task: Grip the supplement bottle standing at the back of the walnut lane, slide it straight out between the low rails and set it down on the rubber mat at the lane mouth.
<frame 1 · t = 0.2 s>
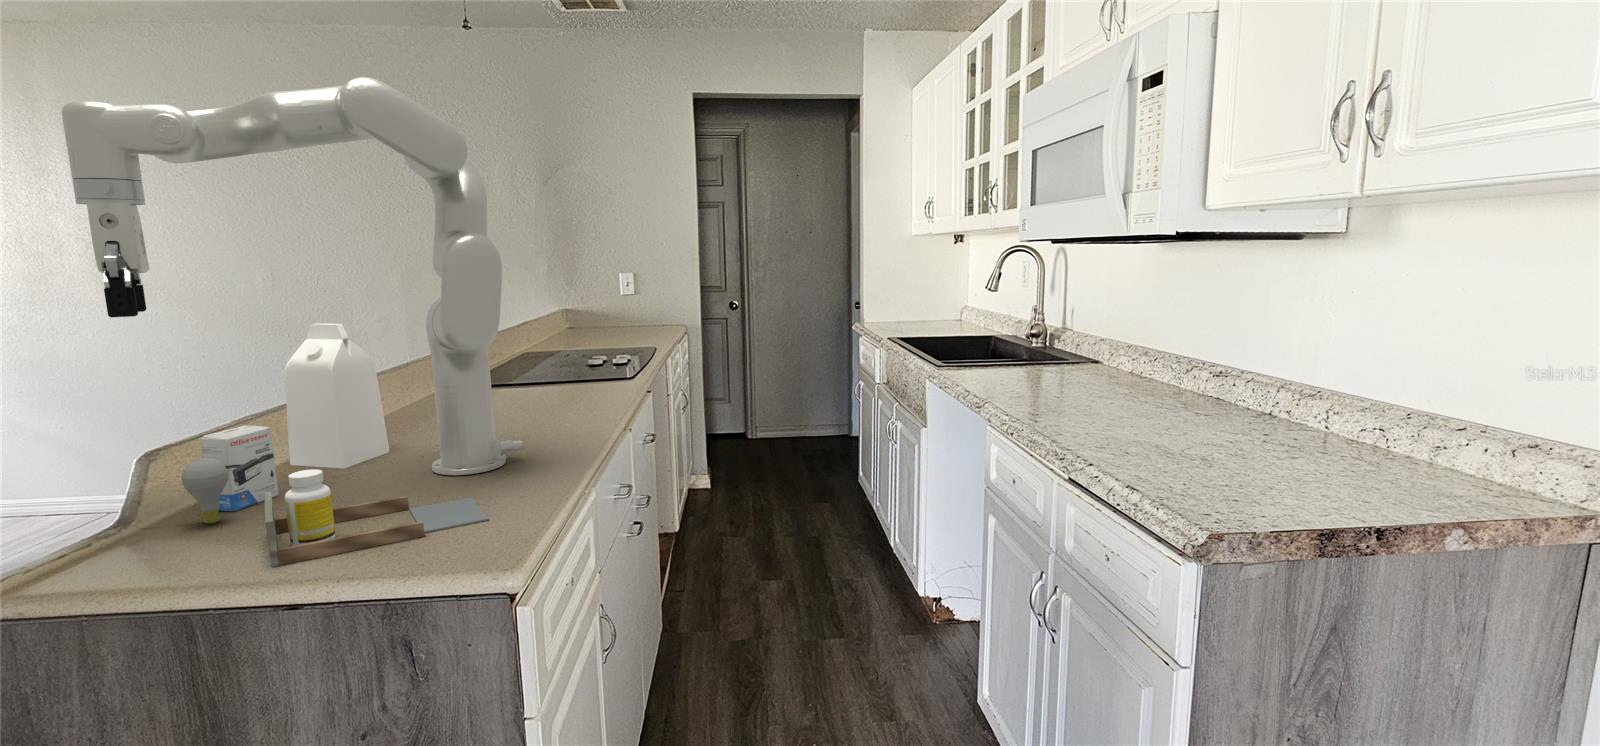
hand: (128, 314, 114), 31 cm above the counter, fingers open, 9 cm apart
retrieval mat: (448, 515, 119), on the counter
light bulb: (212, 525, 116), on the counter
supplement bottle: (313, 542, 109), resting in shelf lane
milk: (341, 459, 151), on the counter
ink box: (245, 503, 126), on the counter
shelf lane: (346, 534, 111), on the counter
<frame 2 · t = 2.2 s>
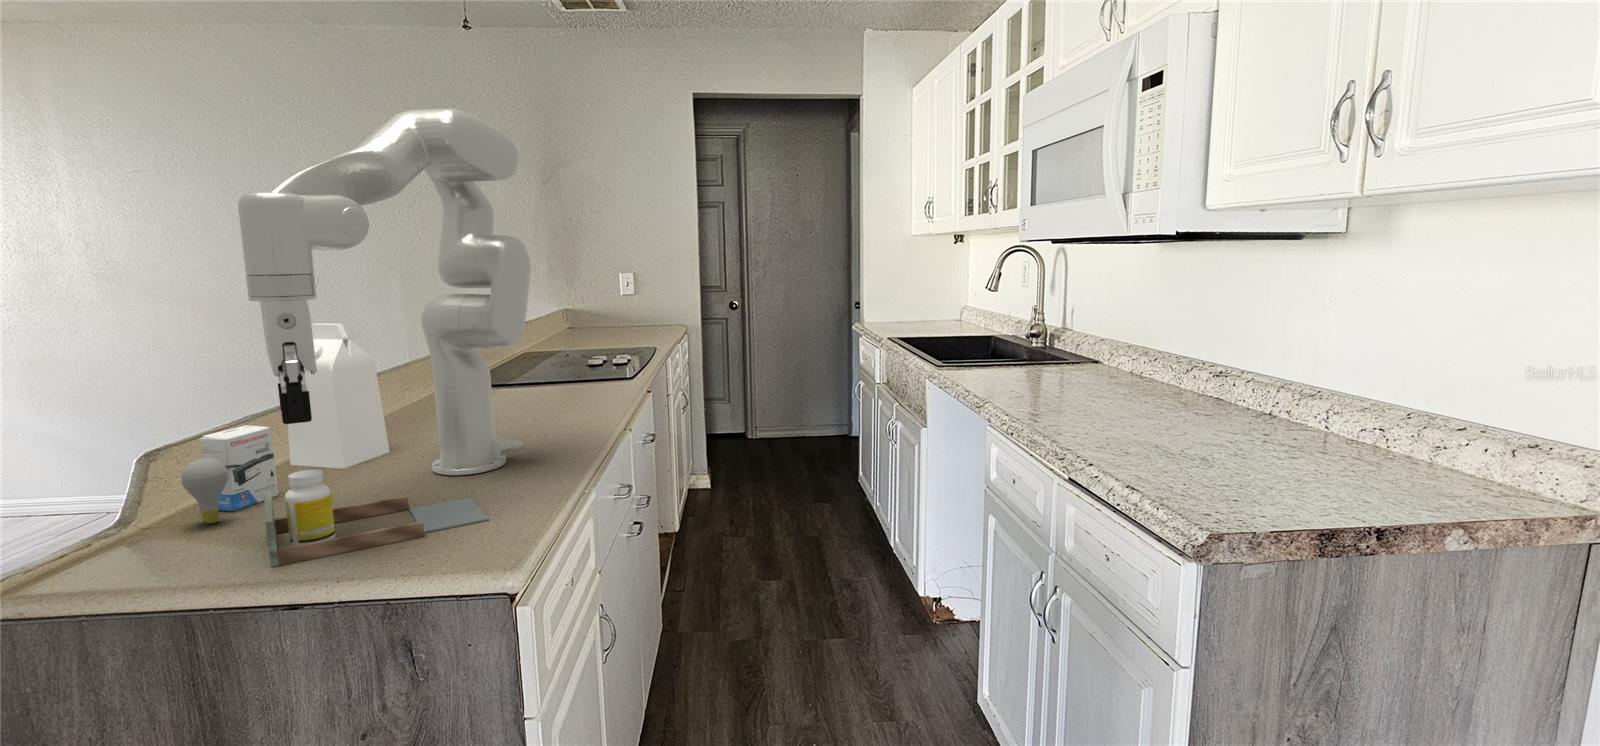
hand: (295, 416, 106), 18 cm above the counter, fingers open, 9 cm apart
nothing on the counter moved.
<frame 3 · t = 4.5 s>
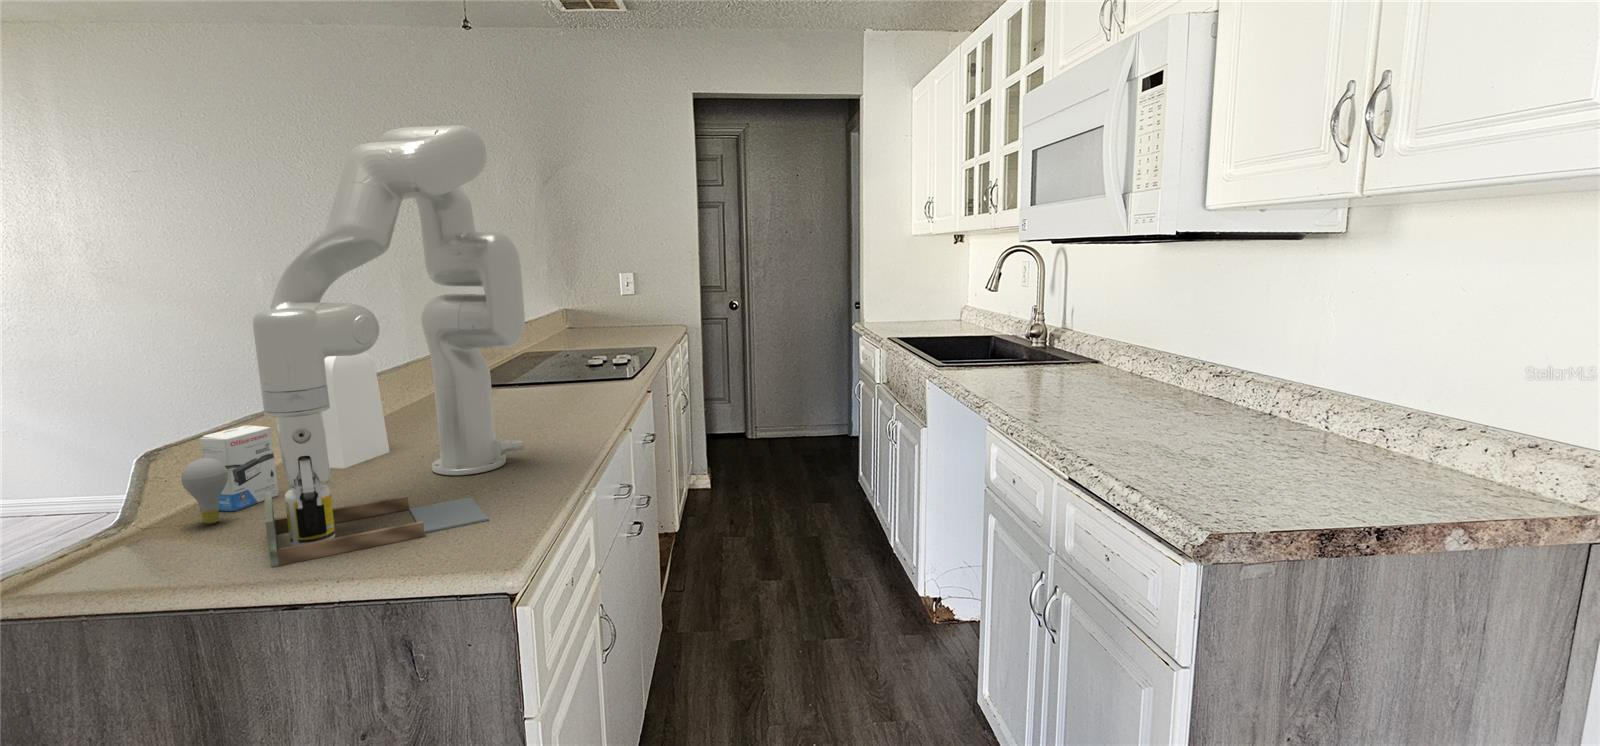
hand: (311, 527, 109), 2 cm above the counter, fingers closed on supplement bottle, 5 cm apart
supplement bottle: (313, 542, 109), resting in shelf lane, touching gripper
everything else where it was.
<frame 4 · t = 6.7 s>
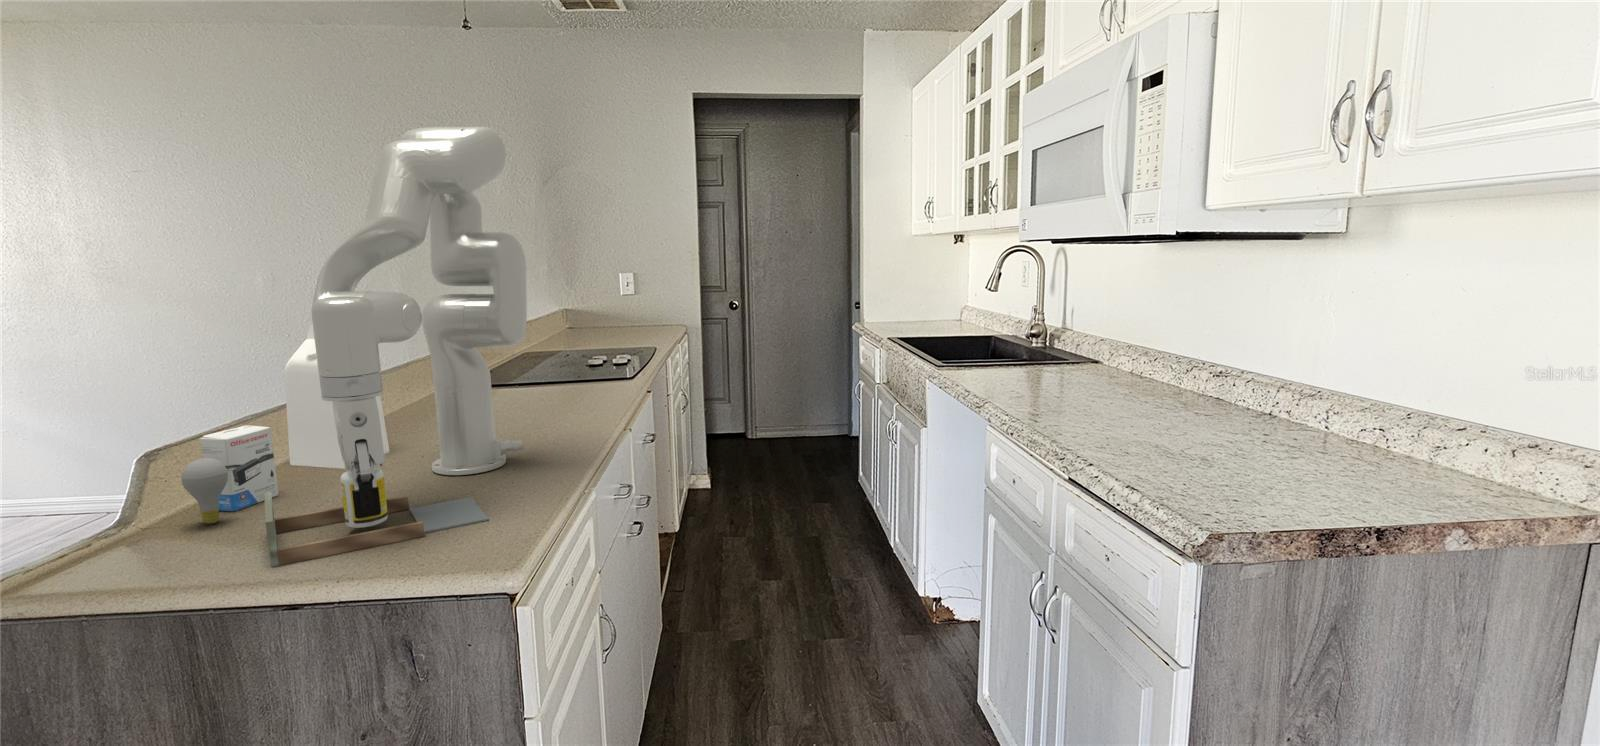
hand: (365, 508, 113), 3 cm above the counter, fingers closed on supplement bottle, 5 cm apart
supplement bottle: (367, 523, 113), point 1 cm above the counter, touching gripper
everything else where it was.
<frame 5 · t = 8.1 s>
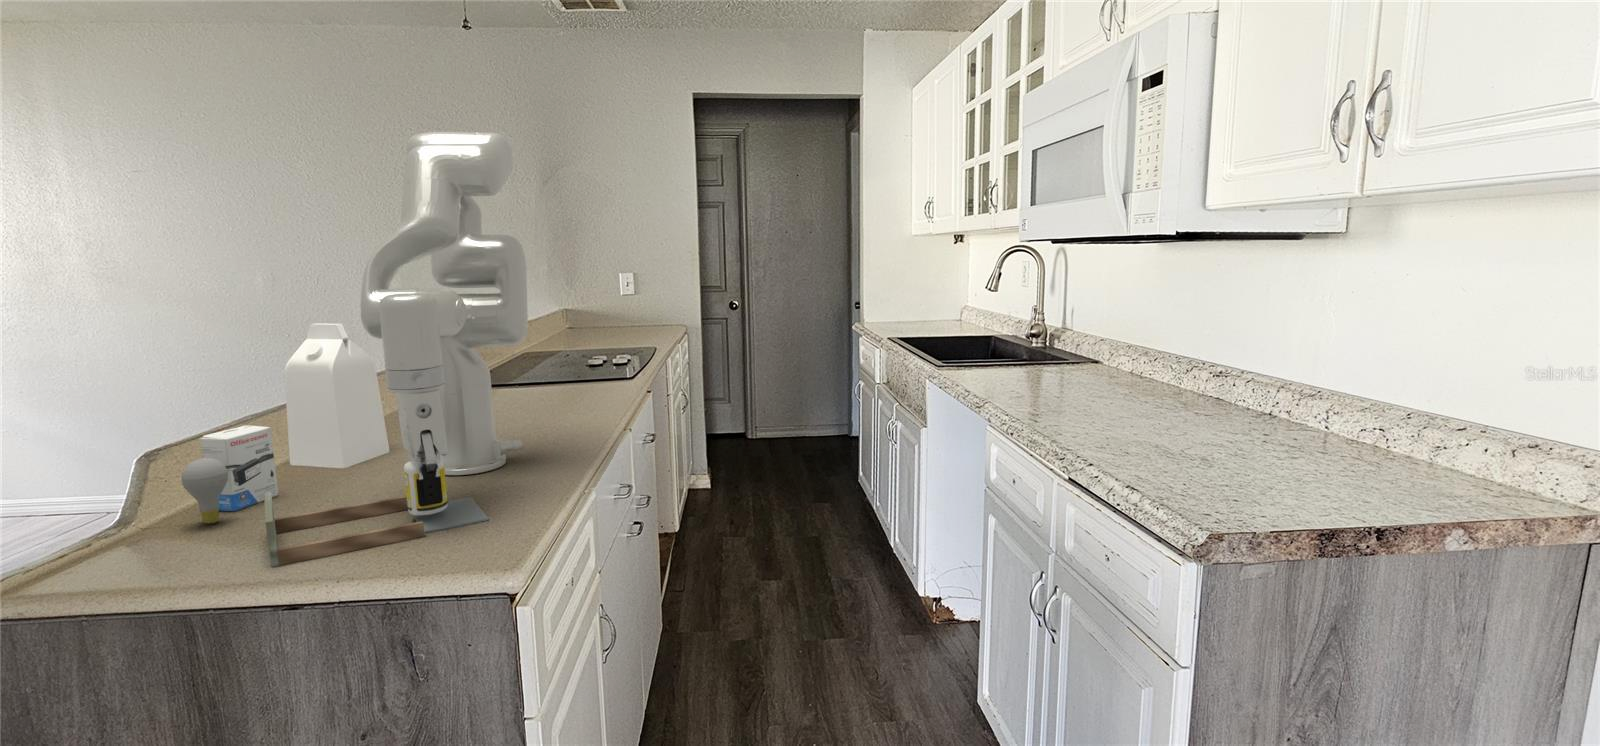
hand: (427, 497, 117), 3 cm above the counter, fingers closed on supplement bottle, 5 cm apart
supplement bottle: (428, 511, 117), point 1 cm above the counter, touching gripper
everything else where it was.
when the fingers open (3 cm above the counter, at t = 9.2 s): supplement bottle stays where it is, resting on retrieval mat.
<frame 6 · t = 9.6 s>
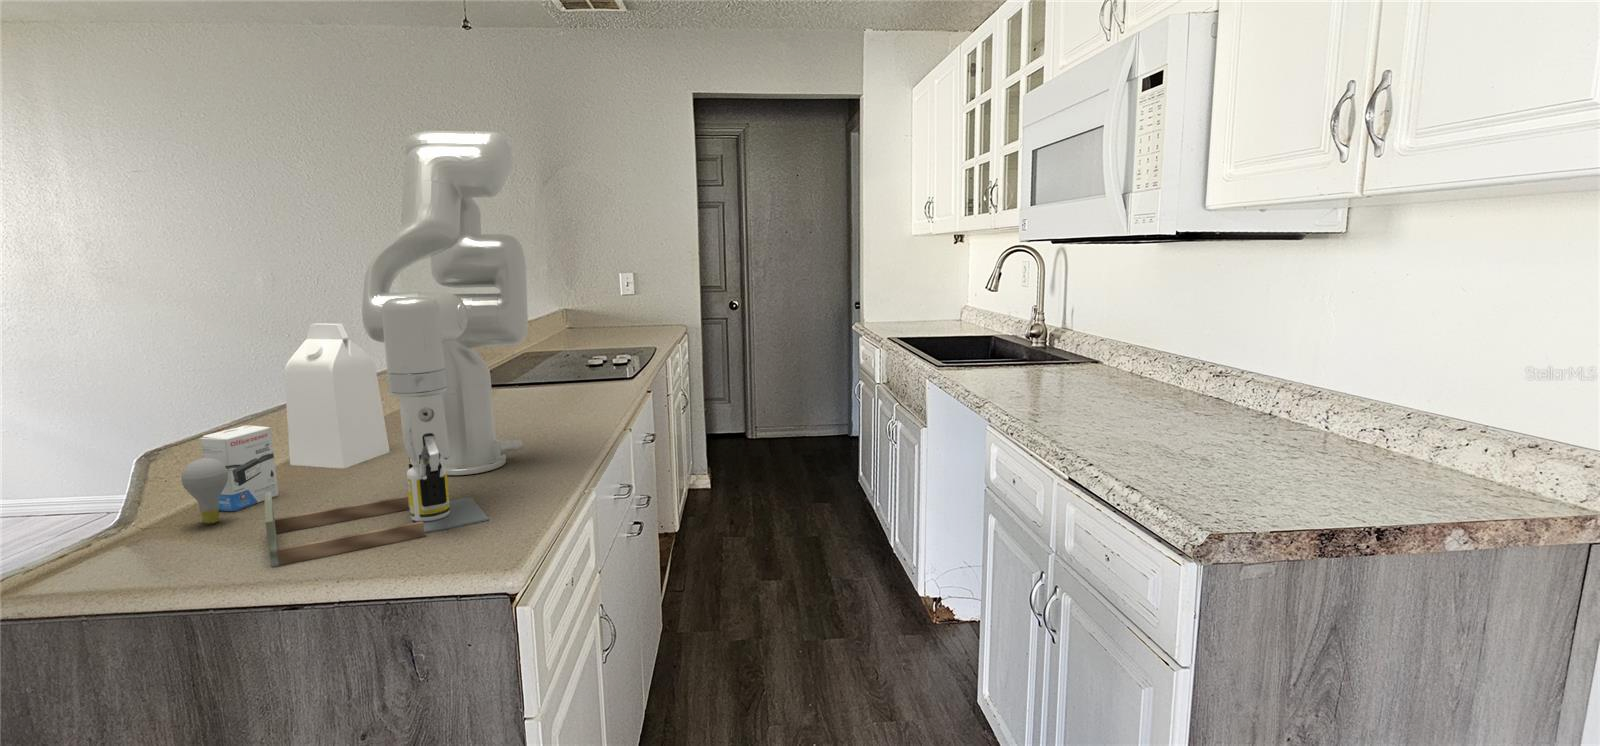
hand: (428, 495, 117), 4 cm above the counter, fingers open, 9 cm apart
supplement bottle: (430, 517, 118), resting on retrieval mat
everything else where it was.
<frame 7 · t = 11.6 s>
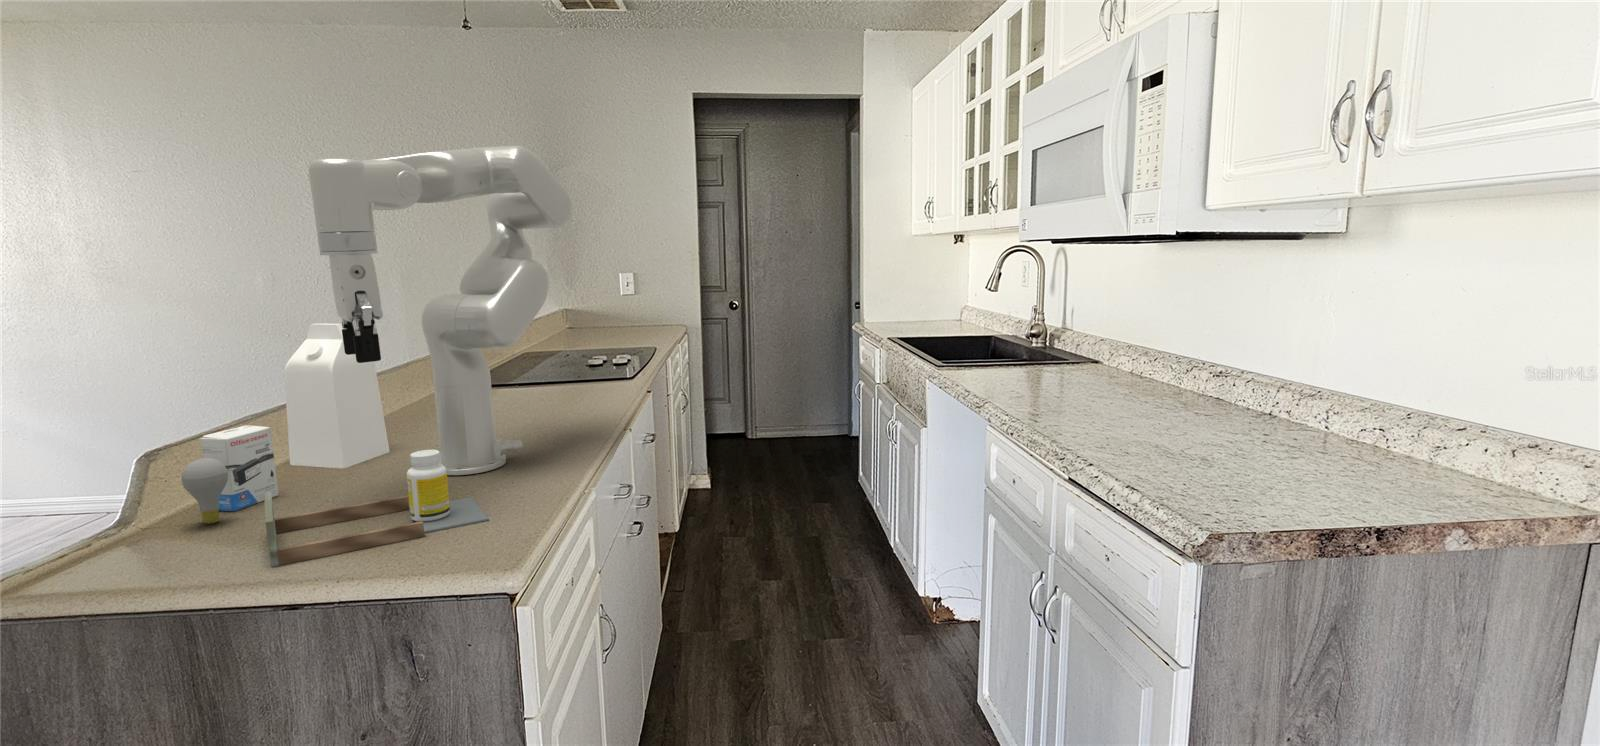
hand: (362, 357, 120), 23 cm above the counter, fingers open, 9 cm apart
nothing on the counter moved.
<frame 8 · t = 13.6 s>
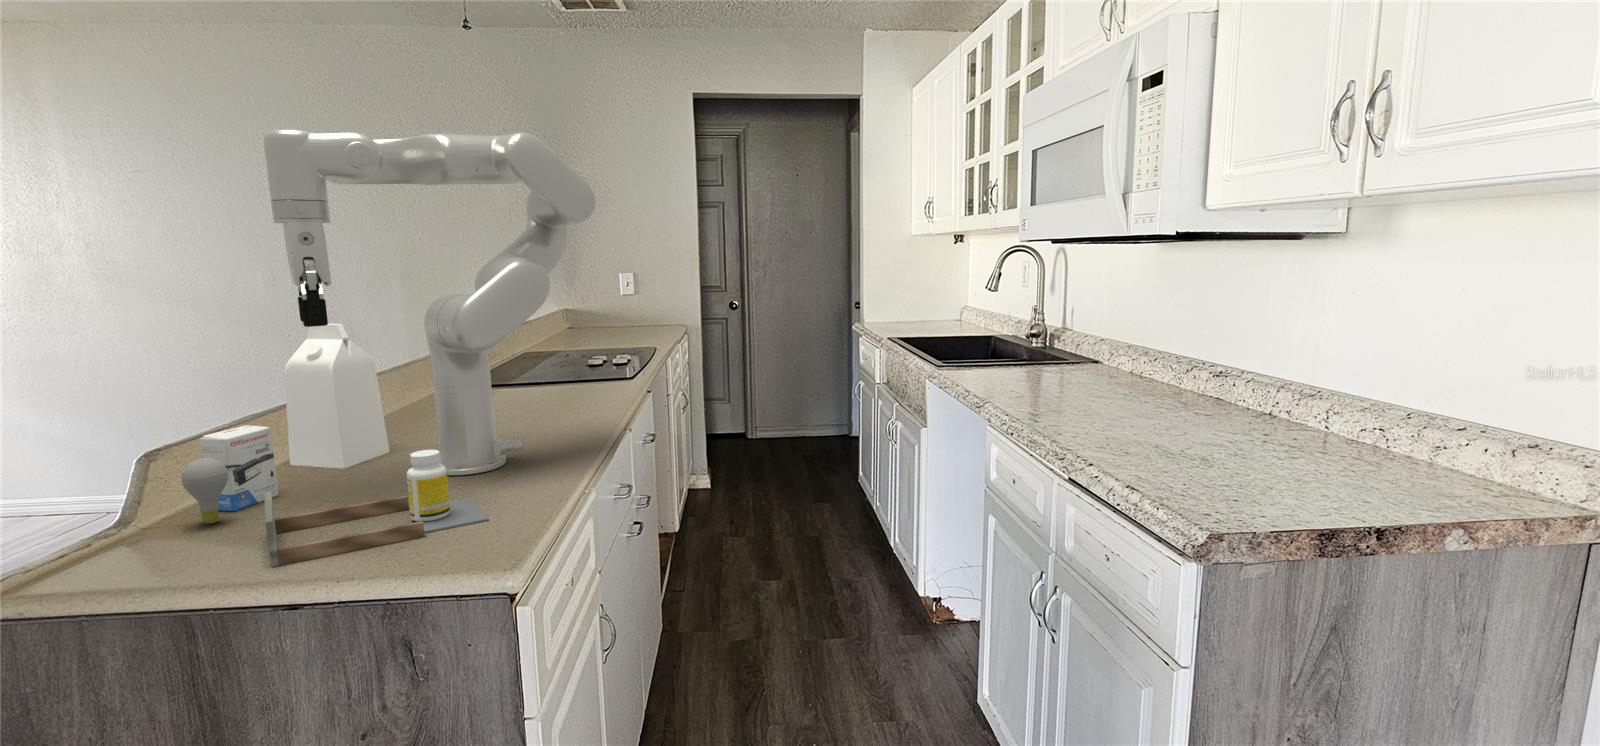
hand: (314, 323, 125), 28 cm above the counter, fingers open, 9 cm apart
nothing on the counter moved.
at the end: supplement bottle inside the target area (0.9 cm from its centre), resting on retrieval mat; supplement bottle tilted 0°; the gripper is holding nothing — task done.
